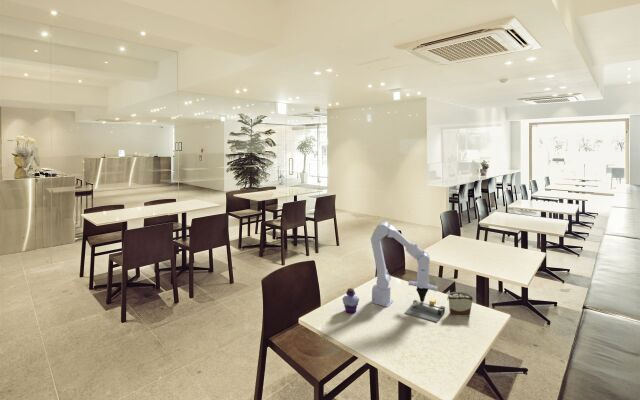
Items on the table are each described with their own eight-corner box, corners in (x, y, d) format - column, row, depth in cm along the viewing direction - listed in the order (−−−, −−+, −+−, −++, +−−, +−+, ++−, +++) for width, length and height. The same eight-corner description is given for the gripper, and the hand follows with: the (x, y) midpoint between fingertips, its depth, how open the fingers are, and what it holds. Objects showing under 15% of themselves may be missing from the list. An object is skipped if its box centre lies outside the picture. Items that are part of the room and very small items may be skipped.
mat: (404, 313, 167) (404, 312, 167) (413, 303, 177) (413, 302, 177) (437, 322, 158) (437, 321, 158) (444, 311, 168) (444, 310, 168)
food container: (468, 309, 169) (469, 291, 168) (472, 315, 163) (473, 296, 162) (443, 309, 170) (444, 290, 169) (447, 315, 164) (447, 296, 163)
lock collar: (429, 305, 169) (429, 300, 168) (431, 302, 171) (431, 298, 171) (434, 306, 167) (434, 302, 167) (435, 304, 170) (435, 300, 169)
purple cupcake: (359, 307, 174) (359, 285, 172) (359, 315, 166) (359, 293, 164) (342, 307, 175) (342, 285, 173) (342, 315, 167) (341, 292, 165)
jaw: (411, 307, 172) (412, 300, 171) (414, 305, 174) (414, 299, 173) (441, 316, 162) (441, 309, 162) (443, 314, 164) (443, 307, 164)
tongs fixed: (413, 305, 174) (413, 300, 174) (414, 303, 176) (414, 299, 175) (443, 313, 165) (444, 308, 165) (444, 311, 167) (445, 306, 167)
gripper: (406, 275, 171) (406, 300, 173) (435, 281, 163) (434, 307, 165) (411, 271, 177) (410, 295, 179) (439, 277, 168) (438, 302, 170)
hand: (422, 300), depth 172 cm, fingers closed
